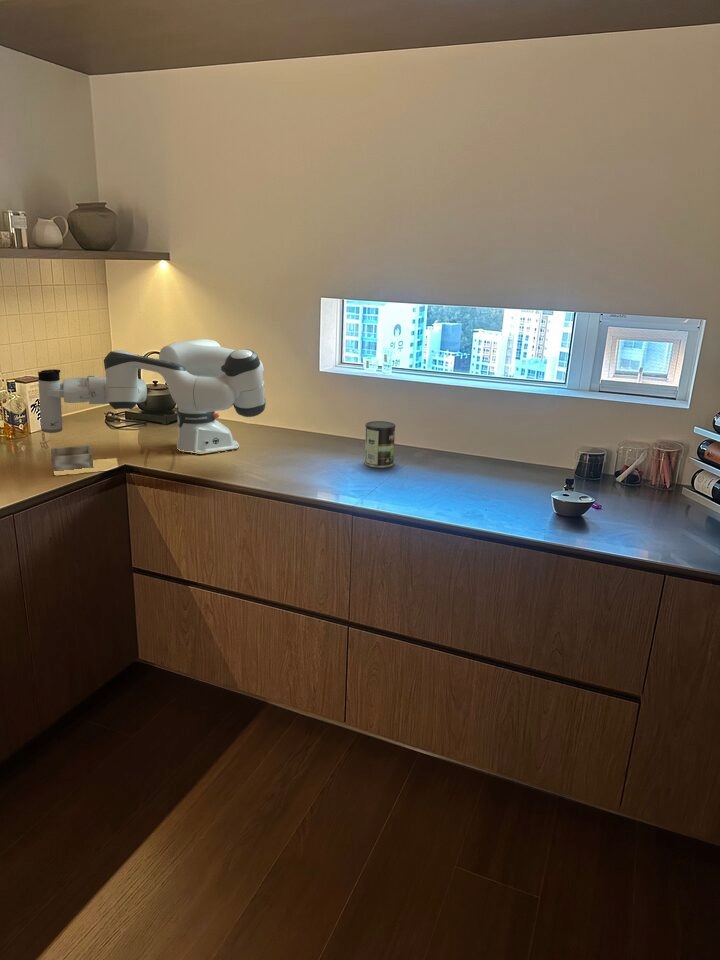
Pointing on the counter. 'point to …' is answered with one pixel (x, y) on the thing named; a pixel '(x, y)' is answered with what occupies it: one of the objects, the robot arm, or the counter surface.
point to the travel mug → (50, 401)
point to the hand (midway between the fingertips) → (47, 390)
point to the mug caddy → (71, 458)
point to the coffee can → (379, 444)
